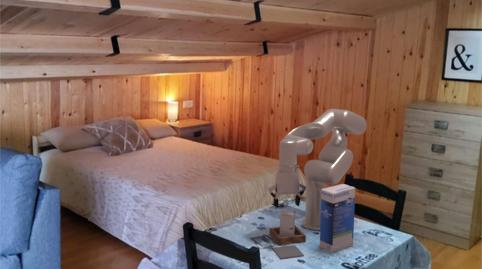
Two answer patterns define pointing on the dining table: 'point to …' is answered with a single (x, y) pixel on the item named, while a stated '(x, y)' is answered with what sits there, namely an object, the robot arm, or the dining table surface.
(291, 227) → the skincare box
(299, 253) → the mat
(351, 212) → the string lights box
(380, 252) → the dining table surface
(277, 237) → the holder
